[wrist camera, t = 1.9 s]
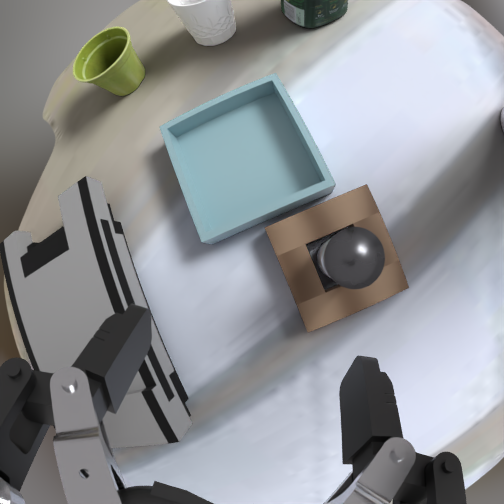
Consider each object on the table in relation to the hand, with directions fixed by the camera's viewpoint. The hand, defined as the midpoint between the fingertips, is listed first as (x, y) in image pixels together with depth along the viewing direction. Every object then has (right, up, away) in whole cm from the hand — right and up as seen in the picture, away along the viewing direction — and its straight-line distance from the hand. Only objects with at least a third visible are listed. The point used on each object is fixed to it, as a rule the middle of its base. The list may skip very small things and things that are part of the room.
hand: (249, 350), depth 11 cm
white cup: (-5, +37, +26) cm, 45 cm away
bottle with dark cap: (+10, +3, +22) cm, 25 cm away
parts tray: (-1, +14, +24) cm, 28 cm away
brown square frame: (+10, +3, +22) cm, 25 cm away
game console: (-22, -6, +28) cm, 36 cm away
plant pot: (-19, +30, +28) cm, 45 cm away
